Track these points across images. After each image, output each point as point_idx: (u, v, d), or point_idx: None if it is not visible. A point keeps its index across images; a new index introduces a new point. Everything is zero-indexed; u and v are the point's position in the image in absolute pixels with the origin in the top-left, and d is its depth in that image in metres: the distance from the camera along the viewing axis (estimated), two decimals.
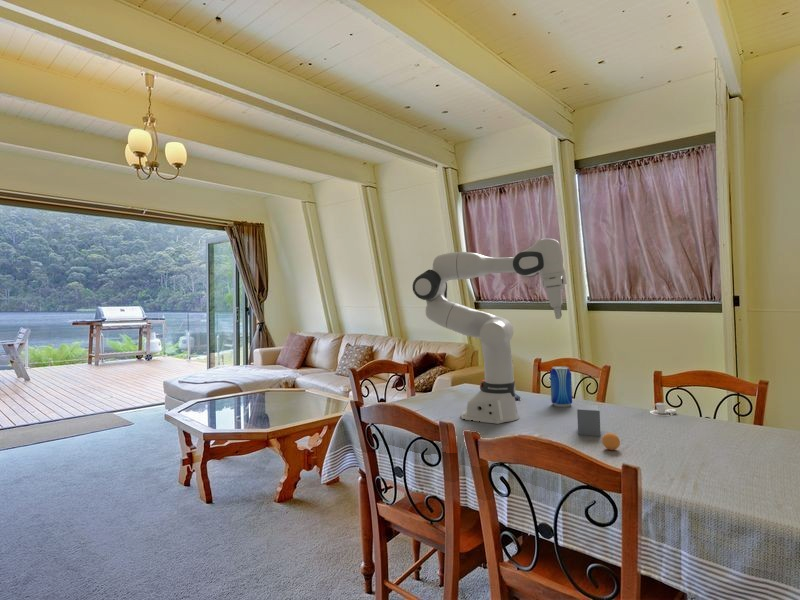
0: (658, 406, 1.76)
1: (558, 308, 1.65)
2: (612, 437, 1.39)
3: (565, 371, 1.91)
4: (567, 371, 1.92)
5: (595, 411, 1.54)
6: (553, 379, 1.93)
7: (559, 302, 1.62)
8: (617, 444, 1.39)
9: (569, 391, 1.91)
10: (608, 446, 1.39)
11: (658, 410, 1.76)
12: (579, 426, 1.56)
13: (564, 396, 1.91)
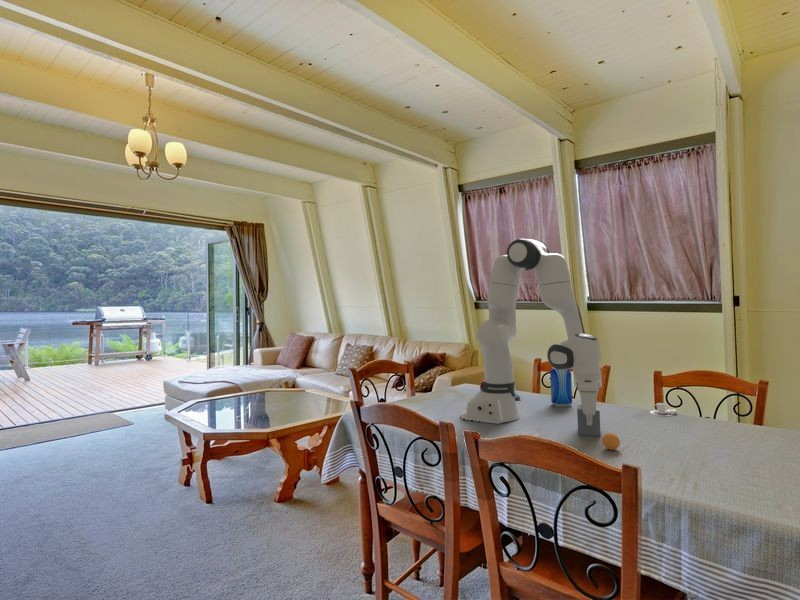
0: (658, 406, 1.76)
1: (591, 415, 1.52)
2: (612, 437, 1.39)
3: (565, 371, 1.91)
4: (567, 371, 1.92)
5: None
6: (553, 379, 1.93)
7: (593, 411, 1.48)
8: (617, 444, 1.39)
9: (569, 391, 1.91)
10: (608, 446, 1.39)
11: (658, 410, 1.76)
12: (579, 426, 1.56)
13: (564, 396, 1.91)
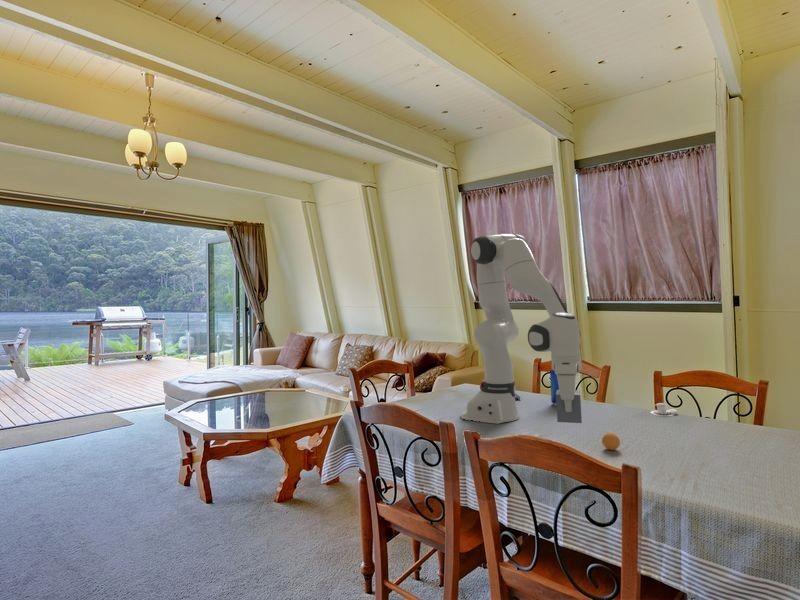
0: (659, 406, 1.75)
1: (570, 400, 1.39)
2: (612, 437, 1.39)
3: None
4: None
5: (575, 395, 1.40)
6: (553, 379, 1.93)
7: (572, 396, 1.35)
8: (617, 444, 1.39)
9: None
10: (608, 446, 1.39)
11: (659, 410, 1.76)
12: (558, 413, 1.42)
13: None
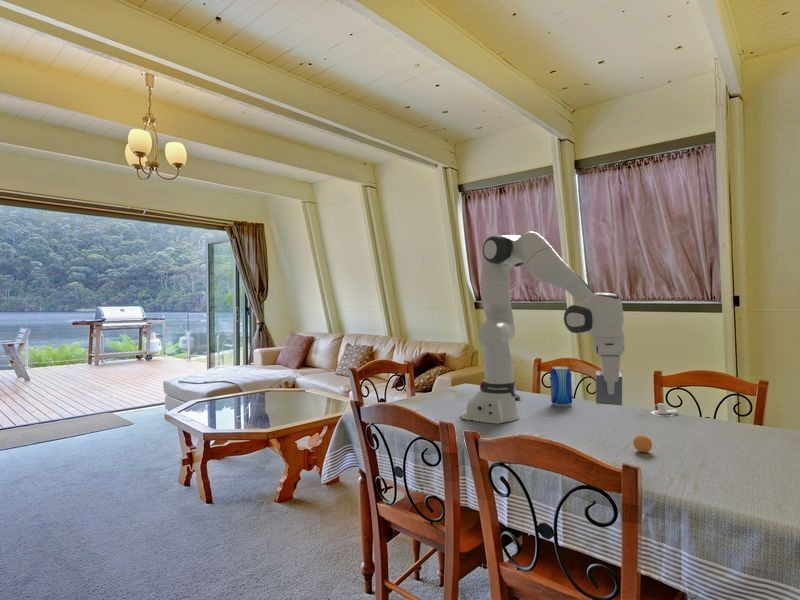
0: (659, 406, 1.75)
1: (613, 382, 1.34)
2: (640, 450, 1.36)
3: (565, 371, 1.91)
4: (567, 371, 1.92)
5: None
6: (553, 379, 1.93)
7: (616, 377, 1.30)
8: (637, 442, 1.36)
9: (569, 391, 1.91)
10: (647, 443, 1.35)
11: (659, 411, 1.75)
12: (598, 394, 1.38)
13: (564, 396, 1.91)
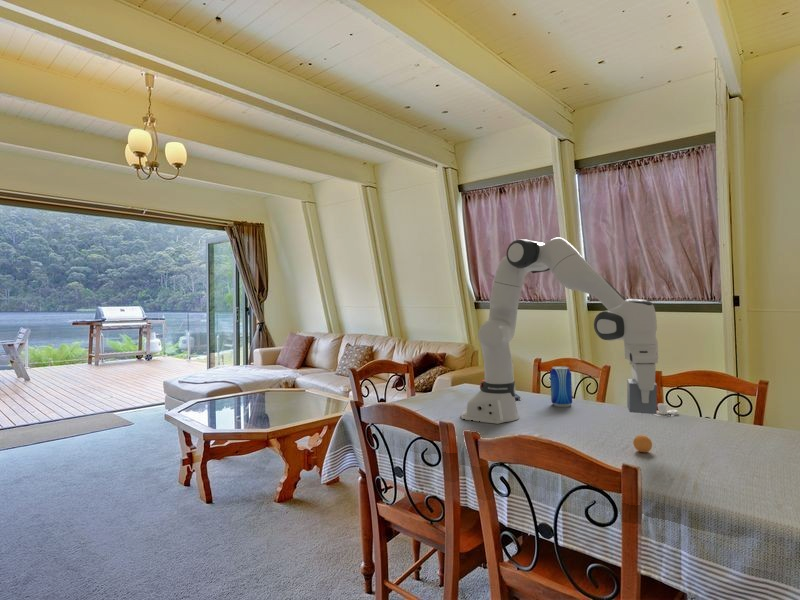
0: (660, 407, 1.75)
1: (647, 391, 1.31)
2: (640, 450, 1.36)
3: (565, 371, 1.91)
4: (567, 371, 1.92)
5: None
6: (553, 379, 1.93)
7: (652, 386, 1.27)
8: (637, 442, 1.36)
9: (569, 391, 1.91)
10: (647, 443, 1.35)
11: (660, 411, 1.75)
12: (631, 402, 1.35)
13: (564, 396, 1.91)
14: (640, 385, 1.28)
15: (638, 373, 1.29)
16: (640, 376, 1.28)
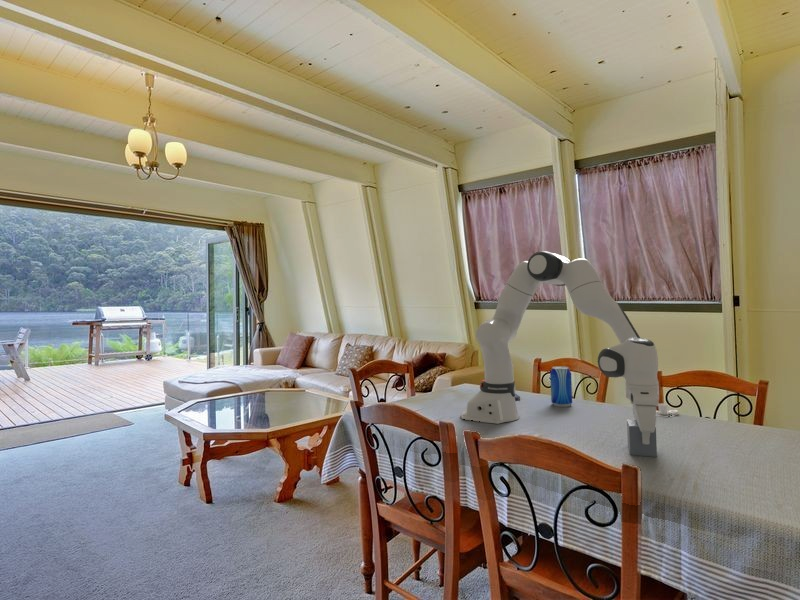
0: (660, 407, 1.75)
1: (648, 432, 1.31)
2: None
3: (565, 371, 1.91)
4: (567, 371, 1.92)
5: None
6: (553, 379, 1.93)
7: (653, 428, 1.28)
8: None
9: (569, 391, 1.91)
10: None
11: (660, 411, 1.75)
12: (631, 445, 1.36)
13: (564, 396, 1.91)
14: (641, 427, 1.29)
15: (639, 415, 1.29)
16: (641, 418, 1.29)
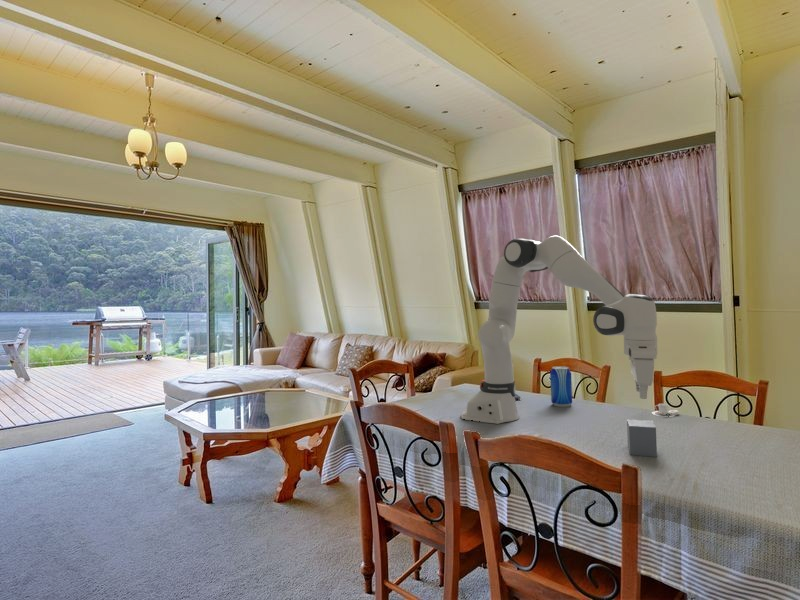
0: (660, 407, 1.75)
1: (646, 386, 1.31)
2: None
3: (565, 371, 1.91)
4: (567, 371, 1.92)
5: (650, 428, 1.34)
6: (553, 379, 1.93)
7: (650, 381, 1.27)
8: None
9: (569, 391, 1.91)
10: None
11: (660, 411, 1.75)
12: (631, 445, 1.36)
13: (564, 396, 1.91)
14: (638, 380, 1.28)
15: (637, 368, 1.29)
16: (638, 371, 1.28)
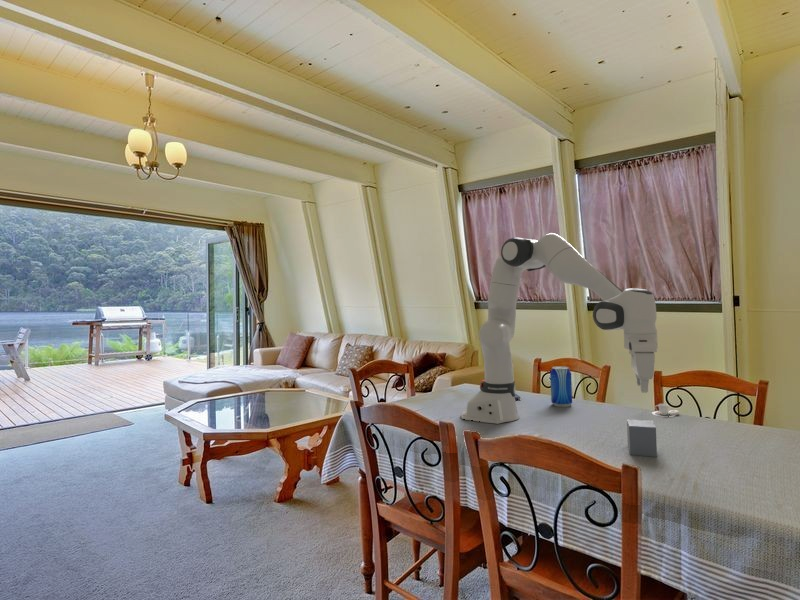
0: (660, 407, 1.74)
1: (647, 380, 1.31)
2: None
3: (565, 371, 1.91)
4: (567, 371, 1.92)
5: (650, 428, 1.34)
6: (553, 379, 1.93)
7: (651, 374, 1.27)
8: None
9: (569, 391, 1.91)
10: None
11: (660, 411, 1.75)
12: (631, 445, 1.36)
13: (564, 396, 1.91)
14: (639, 374, 1.28)
15: (637, 362, 1.29)
16: (639, 365, 1.28)
